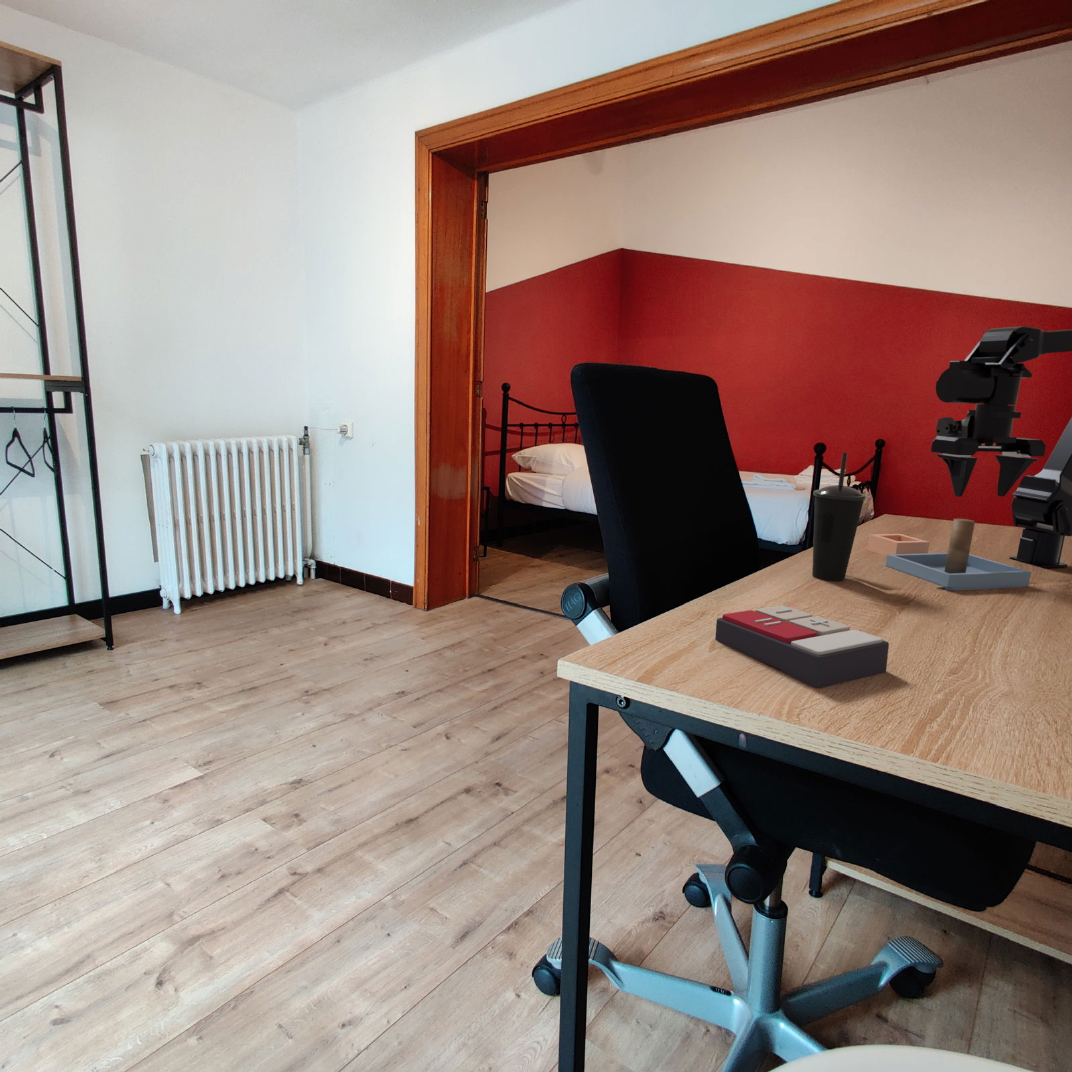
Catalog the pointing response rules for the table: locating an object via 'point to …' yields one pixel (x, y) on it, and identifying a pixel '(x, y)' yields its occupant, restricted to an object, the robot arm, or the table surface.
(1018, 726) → the table surface
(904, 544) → the terracotta socket
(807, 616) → the calculator
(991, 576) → the slate tray
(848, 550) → the drinking cup
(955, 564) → the walnut dowel
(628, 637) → the table surface
